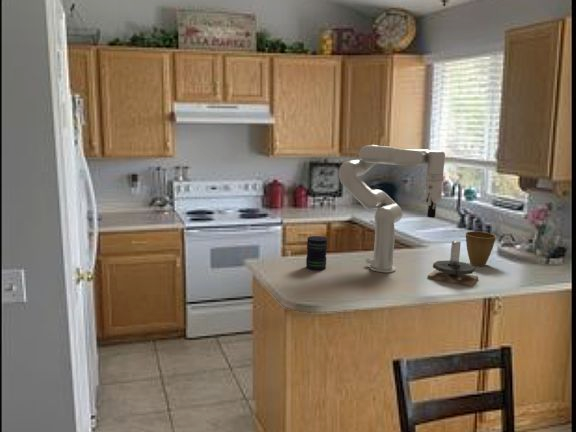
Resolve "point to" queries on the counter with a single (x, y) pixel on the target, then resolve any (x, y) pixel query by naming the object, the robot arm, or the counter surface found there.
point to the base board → (453, 278)
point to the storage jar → (316, 253)
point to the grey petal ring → (461, 269)
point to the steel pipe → (454, 256)
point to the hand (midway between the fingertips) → (431, 217)
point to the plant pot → (479, 247)
